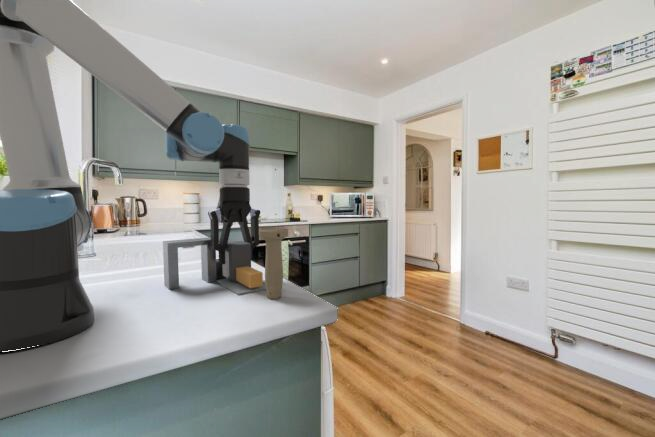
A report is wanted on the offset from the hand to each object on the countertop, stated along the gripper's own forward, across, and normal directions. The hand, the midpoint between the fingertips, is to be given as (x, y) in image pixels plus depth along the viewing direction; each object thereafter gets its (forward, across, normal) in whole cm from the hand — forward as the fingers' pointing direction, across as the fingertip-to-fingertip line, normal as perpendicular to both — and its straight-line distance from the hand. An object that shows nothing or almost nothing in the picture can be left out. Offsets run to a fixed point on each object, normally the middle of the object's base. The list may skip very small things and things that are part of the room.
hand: (236, 274), depth 80 cm
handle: (+2, +1, -18) cm, 18 cm away
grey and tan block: (+1, 0, -4) cm, 4 cm away
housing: (+2, -8, +5) cm, 10 cm away
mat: (+2, 0, -4) cm, 5 cm away
